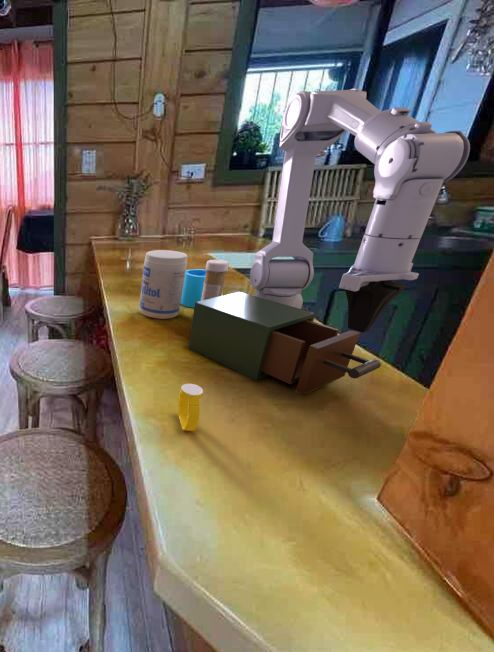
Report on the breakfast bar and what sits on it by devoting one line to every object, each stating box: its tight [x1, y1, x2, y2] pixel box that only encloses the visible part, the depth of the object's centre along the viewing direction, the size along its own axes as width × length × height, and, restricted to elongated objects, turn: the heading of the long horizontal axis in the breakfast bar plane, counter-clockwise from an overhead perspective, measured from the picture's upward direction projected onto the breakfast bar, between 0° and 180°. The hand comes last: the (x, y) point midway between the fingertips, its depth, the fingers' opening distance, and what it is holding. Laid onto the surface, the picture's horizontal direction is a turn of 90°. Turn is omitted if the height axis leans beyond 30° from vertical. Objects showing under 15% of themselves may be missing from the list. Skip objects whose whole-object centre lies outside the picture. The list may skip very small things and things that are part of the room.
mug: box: [180, 268, 206, 309], centre depth 99 cm, size 12×8×8 cm
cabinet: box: [187, 291, 317, 381], centre depth 69 cm, size 15×13×10 cm
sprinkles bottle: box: [201, 259, 230, 301], centre depth 87 cm, size 5×5×13 cm
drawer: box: [261, 320, 382, 395], centre depth 61 cm, size 18×11×8 cm, turn 28°
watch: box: [177, 383, 204, 432], centre depth 51 cm, size 6×3×6 cm, turn 171°
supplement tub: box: [138, 249, 188, 320], centre depth 90 cm, size 10×10×15 cm
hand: (357, 329), depth 56 cm, fingers closed
